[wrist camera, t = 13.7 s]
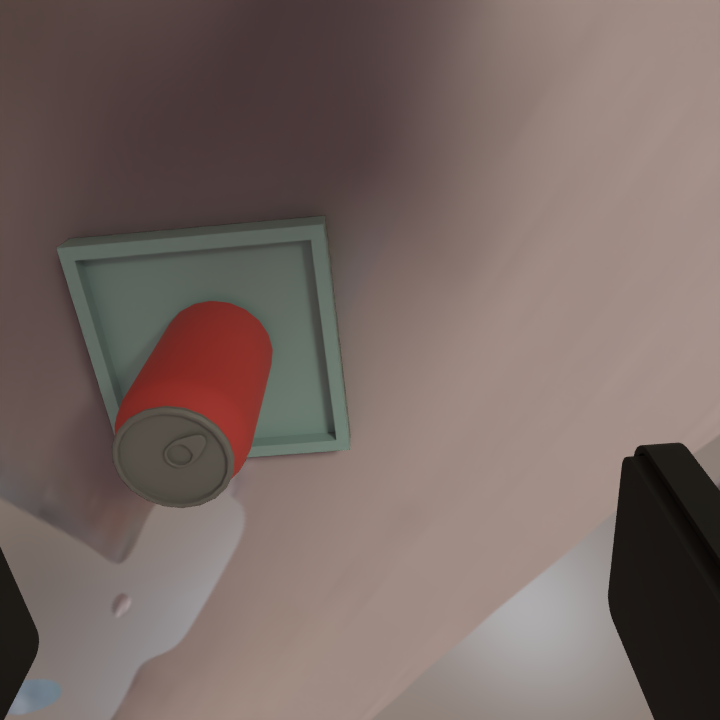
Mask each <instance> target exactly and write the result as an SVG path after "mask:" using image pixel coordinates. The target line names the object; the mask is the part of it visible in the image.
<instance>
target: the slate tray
mask: <svg viewBox="0 0 720 720" xmlns="http://www.w3.org/2000/svg"><path fill="white" fill-rule="evenodd" d="M56 249H57V252H58V255H59V258H60V262H61V265H62V268H63V271H64V275H65V278H66V281H67V284H68V288H69V291H70V294H71V297H72V300H73V304H74V307H75V310H76V313H77V317H78V320H79V323H80V326H81V330H82V333H83V336H84V339H85V342H86V346H87V349H88V352H89V355H90V359H91V362H92V365H93V368H94V372H95V375H96V378H97V381H98V384H99V388H100V391H101V394H102V397H103V401H104V404H105V407H106V410H107V414H108V417H109V420H110V423H111V426H112V430H113V433H114V436H115V429H114V426H115V421H116V416H117V414H118V411H119V408H120V405H121V402H122V400H123V399H124V397H125V395H126V394H127V392H128V390H129V389H130V387H131V386H132V384H133V382H134V381H135V379H136V377H137V376H138V374H139V373H140V371H141V369H142V368H143V366H144V364H145V363H146V361H147V360H148V358H149V356H150V355H151V353H152V351H153V350H154V348H155V347H156V345H157V343H158V342H159V340H160V338H161V337H162V335H163V333H164V332H165V330H166V329H167V327H168V325H169V324H170V322H171V321H172V320H173V319H174V318H175V317H176V316H177V315H178V313H179V312H180V311H182V310H184V309H186V308H188V307H190V306H191V305H193V304H196V303H202V302H207V301H218V302H227V303H231V304H233V305H236V306H238V307H241V308H243V309H245V310H247V311H248V312H249V313H250V314H252V315H253V316H254V317H255V318H257V319H258V320H259V321H260V323H261V324H262V326H263V327H264V329H265V330H266V331H267V333H268V335H269V338H270V342H271V345H272V349H273V352H272V365H271V369H270V373H269V377H268V381H267V385H266V389H265V393H264V397H263V401H262V405H261V409H260V414H259V418H258V422H257V426H256V430H255V434H254V438H253V442H252V446H251V450H250V452H249V454H248V456H247V457H260V456H273V455H286V454H299V453H313V452H326V451H339V450H350V426H349V418H348V409H347V400H346V392H345V383H344V375H343V366H342V357H341V349H340V340H339V332H338V323H337V315H336V306H335V297H334V289H333V280H332V272H331V263H330V254H329V246H328V237H327V229H326V220H325V216H315V217H304V218H293V219H282V220H271V221H260V222H249V223H237V224H226V225H215V226H204V227H193V228H182V229H171V230H160V231H149V232H138V233H127V234H116V235H105V236H94V237H83V238H72V239H68V240H67V241H65V242H64V243H63V244H61V245H60V246H59V247H57V248H56Z"/></svg>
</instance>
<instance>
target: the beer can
mask: <svg viewBox="0 0 720 720" xmlns="http://www.w3.org/2000/svg"><path fill="white" fill-rule="evenodd" d="M272 352H273V349H272V345H271V342H270V338H269V335H268V333H267V331H266V330H265V329H264V327H263V326H262V324H261V323H260V321H259V320H258V319H257V318H255V317H254V316H253V315H252V314H250V313H249V312H248V311H247V310H245V309H243V308H241V307H238V306H236V305H233V304H231V303H227V302H218V301H207V302H202V303H196V304H193V305H191V306H190V307H188V308H186V309H184V310H182V311H180V312H179V313H178V315H177V316H176V317H175V318H174V319H173V320H172V321H171V322H170V324H169V325H168V327H167V329H166V330H165V332H164V333H163V335H162V337H161V338H160V340H159V342H158V343H157V345H156V347H155V348H154V350H153V351H152V353H151V355H150V356H149V358H148V360H147V361H146V363H145V364H144V366H143V368H142V369H141V371H140V373H139V374H138V376H137V377H136V379H135V381H134V382H133V384H132V386H131V387H130V389H129V390H128V392H127V394H126V395H125V397H124V399H123V400H122V402H121V405H120V408H119V411H118V414H117V416H116V421H115V426H114V429H115V439H114V442H113V444H112V457H113V463H114V466H115V468H116V470H117V472H118V475H119V477H120V478H121V479H122V480H123V481H124V483H125V484H126V485H127V486H128V487H129V488H130V489H131V490H132V491H133V492H135V493H136V494H138V495H139V496H141V497H143V498H144V499H146V500H148V501H151V502H154V503H156V504H160V505H162V506H168V507H178V508H185V507H192V506H198V505H201V504H204V503H206V502H208V501H210V500H212V499H215V498H216V497H217V496H218V495H219V494H220V493H221V492H222V491H223V490H225V489H226V488H227V486H228V484H229V482H230V480H231V479H232V478H233V477H234V476H235V475H236V474H237V473H238V472H239V470H240V469H241V467H242V466H243V464H244V462H245V460H246V458H247V456H248V454H249V452H250V450H251V446H252V442H253V438H254V434H255V430H256V426H257V422H258V418H259V414H260V409H261V405H262V401H263V397H264V393H265V389H266V385H267V381H268V377H269V373H270V369H271V365H272Z"/></svg>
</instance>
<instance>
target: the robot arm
mask: <svg viewBox="0 0 720 720" xmlns="http://www.w3.org/2000/svg"><path fill="white" fill-rule="evenodd" d="M608 601H609V608H610V613H611V616H612V619H613V622H614V624H615V627H616V629H617V632H618V634H619V636H620V639H621V641H622V644H623V646H624V648H625V651H626V653H627V656H628V658H629V660H630V663H631V665H632V668H633V670H634V672H635V674H636V677H637V679H638V682H639V684H640V687H641V689H642V691H643V694H644V696H645V699H646V701H647V703H648V706H649V708H650V710H651V713H652V715H653V717H654V720H720V491H719V489H718V488H717V487H716V485H715V484H714V483H713V481H712V480H711V479H710V477H709V476H708V475H707V474H706V472H705V471H704V470H703V468H702V467H701V466H700V464H699V463H698V462H697V460H696V459H695V458H694V456H693V455H692V454H691V452H690V451H689V450H688V449H687V447H686V446H685V445H683V444H682V443H667V444H654V445H641V446H639V447H637V449H636V451H635V454H634V456H632V457H626V458H624V460H623V463H622V470H621V479H620V488H619V497H618V507H617V516H616V525H615V534H614V544H613V553H612V562H611V572H610V581H609V590H608ZM38 645H39V636H38V632H37V629H36V627H35V624H34V622H33V620H32V617H31V615H30V613H29V611H28V608H27V606H26V604H25V602H24V599H23V597H22V595H21V593H20V591H19V588H18V586H17V584H16V582H15V579H14V577H13V575H12V572H11V570H10V568H9V566H8V563H7V561H6V559H5V557H4V554H3V552H2V550H1V548H0V720H4V719H5V716H6V715H7V713H8V711H9V709H10V707H11V705H12V703H13V701H14V699H15V697H16V695H17V693H18V691H19V689H20V687H21V685H22V683H23V681H24V679H25V677H26V675H27V673H28V671H29V669H30V667H31V665H32V663H33V661H34V659H35V657H36V654H37V651H38Z"/></svg>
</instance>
